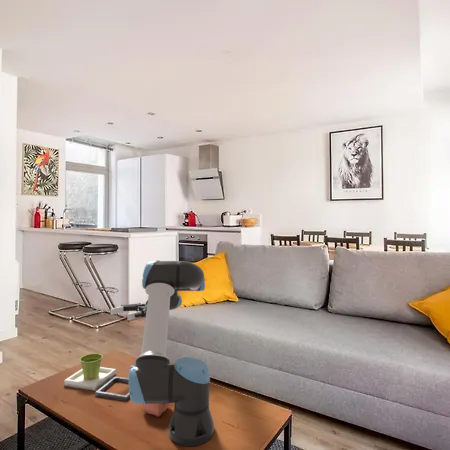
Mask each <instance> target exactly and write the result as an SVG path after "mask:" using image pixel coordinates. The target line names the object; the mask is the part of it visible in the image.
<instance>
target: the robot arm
mask: <svg viewBox="0 0 450 450" xmlns="http://www.w3.org/2000/svg"><path fill="white" fill-rule="evenodd" d="M141 281H142V282H141V286H142V288H143V289H144V290H145V293H146V295H148V297H147V301H146V302H145V303H141V302H139V303H131V304H130V303H128V304H121V305H120V306H118V307H113V308H110V316H111V315H116V314H120V313H121V314H123V313H124V312H130V313H127V321H131V320H136V319H140V318H144V329H143V338H142V344H141V345H142V346H141V352H140V355H139V356H137V358H136V359H135V363H134V364H132V365H130V366H129V369H128V378H129V383H128V393H129V394H130V398H129V399H130V401H131V402H132V403H133V404H136V405H138V404H140V405H143V404H145V405H146V404H154V403H171V404H173V405H174V406H173V407H174V409H173V412H172V416H171V418H170V421H169V424H168V436H169V438H170V440H171V441H172V442H174V443H175V444H177V445H180V446H184V447H195V446H200V445H202V444H205V443H207V442H208V441H210V439H211V438H212V437H213V435H214V433H215V422H214V419H213V415H212V413H211V409H210V381H211V376H210V368H209V366H208V364H207V363H206V362H205V361H203V360H201V359H199V358H196V357H182V358H178V359H176V360H175V363H174V364H170V362H171V360H170V358H169V357H168V356H167V346H168V333H169V332H168V331H169V320H170V319H169V318H170V311H172V310H176V309H178V308H180V307H181V305H182V303H183V299H182V296H181V295H180V294H178V292H203V291H205V289H206V288H205V287H206V284H205V283H206V279H205V273H204V270H203V269H202V268H201V267H200V266H199V265H197V264H196V263H193V262H191V261H186V260H151V261H150V260H149V261H148V262H147V263H146V264H145V266H144V269H143V273H142V280H141Z"/></svg>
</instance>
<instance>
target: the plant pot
mask: <svg viewBox="0 0 450 450" xmlns="http://www.w3.org/2000/svg"><path fill="white" fill-rule="evenodd" d="M103 357H104V356H103V354H101V353H88V354H85V355H82V356H80V358H79V362H80V363H81V367H82V368H81V369H83V375H84V379H86V380H91V379H95V378H97V377H98V376H99V369H100V367H101V362H102V359H103Z"/></svg>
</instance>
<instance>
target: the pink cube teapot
mask: <svg viewBox="0 0 450 450" xmlns="http://www.w3.org/2000/svg"><path fill="white" fill-rule="evenodd" d="M171 404H172V403H154V404H146V405H145V404H142V405H143V408H142V410H143V411H142V412H143V413H146V414H148V415H152V416H155V417H160V416H162V414H163V413H164V412H166V411H167V409H168V408H170V406H171Z"/></svg>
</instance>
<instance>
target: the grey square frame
mask: <svg viewBox="0 0 450 450" xmlns="http://www.w3.org/2000/svg"><path fill="white" fill-rule="evenodd" d="M115 382H120V383H126V384H129V377H121V376H116V375H115V376H113V377H112V378H111V379H109V380H108V381H107V382H106V383H104V384H103V385H102V386H101V387H99V388H98V389H97V390H96V391H94V392H95V397H99V398H106V399H107V398H108V399H113V400H120V401H124V402H125V401H128V400H129V399H130V394H129V392H128V393H126V394H119V393H113V392H105V391H106V390H107V389H108V388H109V387H111V386H112V385H113V384H114V383H115Z"/></svg>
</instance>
